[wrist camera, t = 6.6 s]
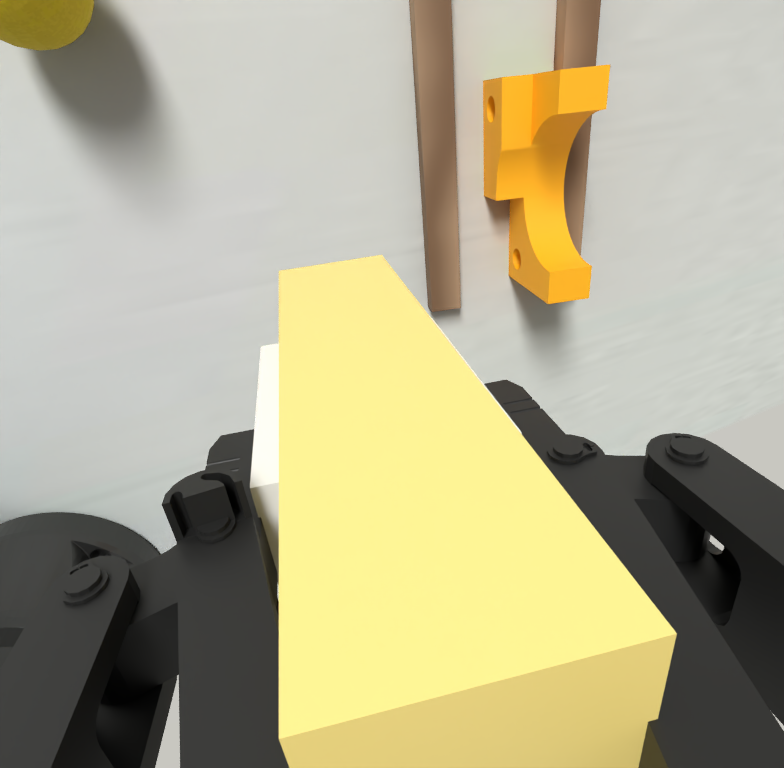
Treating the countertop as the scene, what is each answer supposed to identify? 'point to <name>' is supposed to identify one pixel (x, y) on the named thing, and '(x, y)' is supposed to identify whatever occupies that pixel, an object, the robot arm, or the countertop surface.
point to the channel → (438, 133)
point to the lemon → (43, 22)
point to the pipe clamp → (539, 171)
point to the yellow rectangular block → (437, 559)
